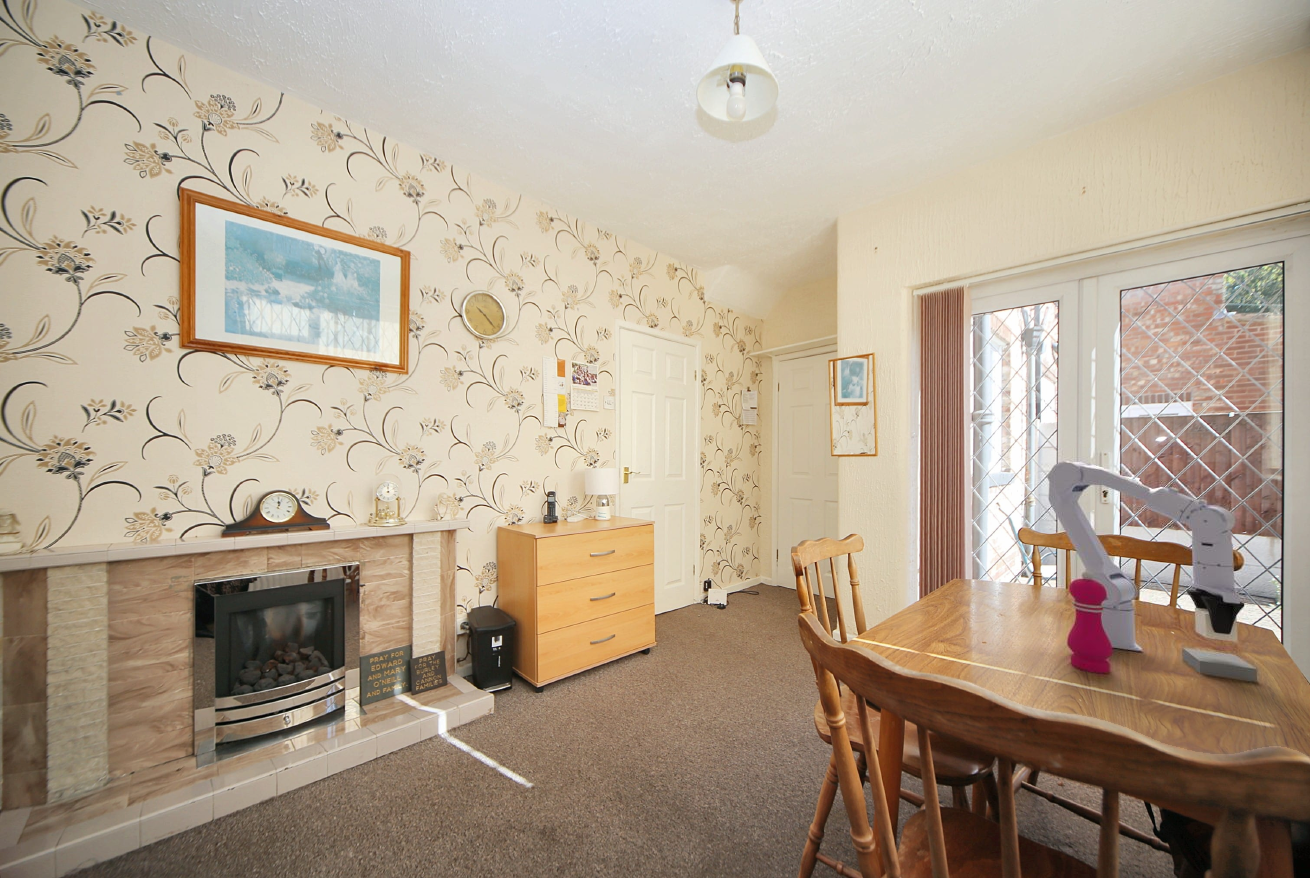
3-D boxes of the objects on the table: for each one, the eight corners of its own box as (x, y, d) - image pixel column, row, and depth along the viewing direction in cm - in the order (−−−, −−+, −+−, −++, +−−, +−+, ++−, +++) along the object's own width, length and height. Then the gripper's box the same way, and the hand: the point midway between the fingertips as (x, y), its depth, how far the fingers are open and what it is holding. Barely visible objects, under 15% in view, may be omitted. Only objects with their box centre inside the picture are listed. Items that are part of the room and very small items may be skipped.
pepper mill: (1122, 676, 100) (1119, 576, 100) (1081, 673, 101) (1078, 574, 102) (1098, 661, 107) (1095, 568, 107) (1060, 659, 108) (1057, 567, 109)
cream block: (1206, 638, 102) (1205, 613, 102) (1195, 631, 106) (1194, 607, 106) (1237, 641, 100) (1236, 616, 100) (1225, 634, 104) (1224, 610, 104)
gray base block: (1200, 675, 101) (1199, 660, 101) (1182, 661, 108) (1182, 647, 108) (1257, 684, 97) (1256, 668, 97) (1235, 669, 104) (1234, 654, 104)
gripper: (1261, 573, 95) (1264, 644, 94) (1221, 559, 108) (1224, 622, 107) (1209, 569, 98) (1212, 637, 98) (1177, 556, 111) (1179, 617, 111)
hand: (1215, 629), depth 103 cm, fingers closed on cream block, 4 cm apart
